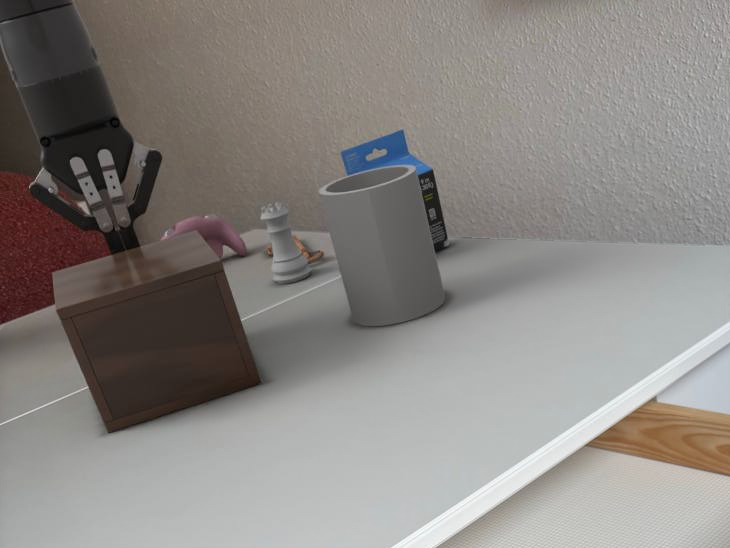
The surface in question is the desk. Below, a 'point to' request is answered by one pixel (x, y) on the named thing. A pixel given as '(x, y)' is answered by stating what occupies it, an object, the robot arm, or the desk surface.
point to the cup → (383, 245)
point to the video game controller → (210, 233)
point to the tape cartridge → (401, 156)
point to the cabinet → (154, 329)
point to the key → (303, 252)
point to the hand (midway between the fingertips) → (131, 267)
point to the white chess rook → (284, 246)
